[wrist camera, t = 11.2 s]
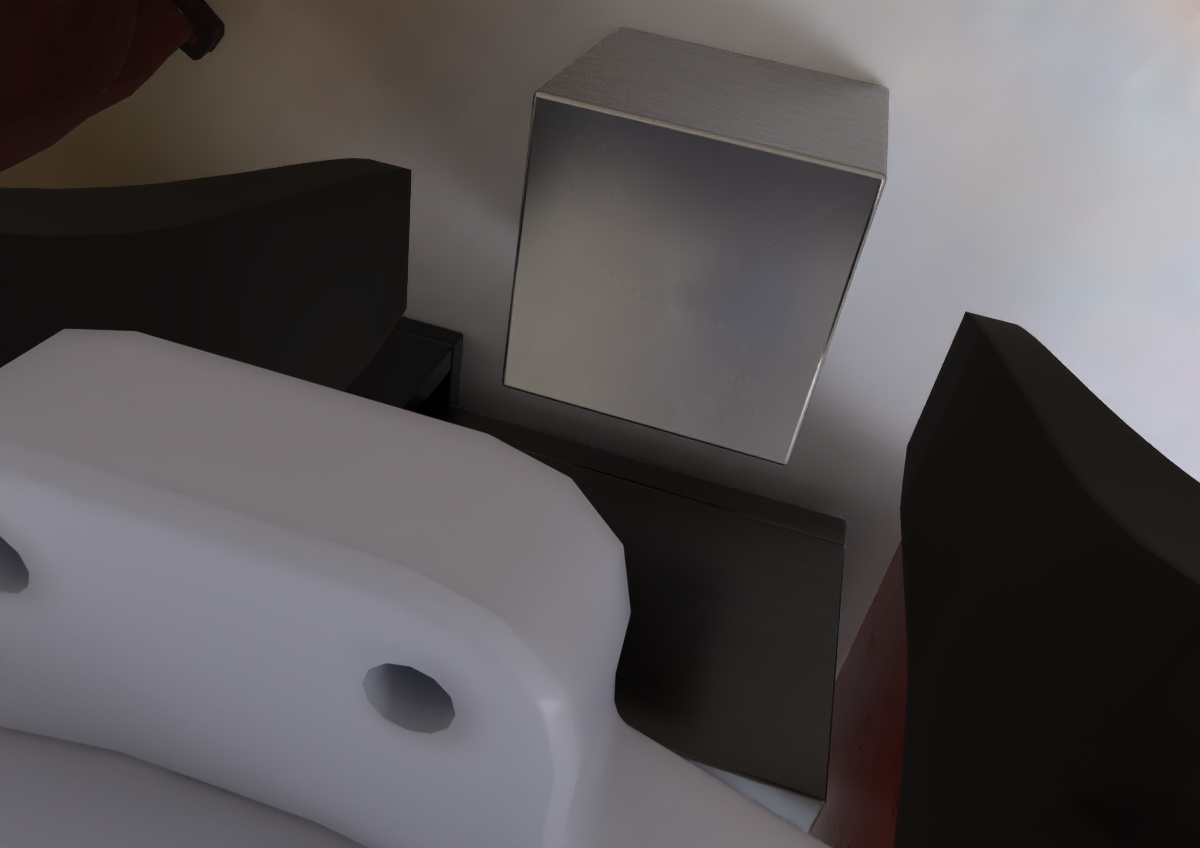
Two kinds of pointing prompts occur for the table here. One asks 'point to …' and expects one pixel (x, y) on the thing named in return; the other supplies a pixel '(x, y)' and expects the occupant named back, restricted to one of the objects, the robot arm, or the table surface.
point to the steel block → (691, 237)
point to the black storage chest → (413, 367)
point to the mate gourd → (85, 60)
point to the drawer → (745, 638)
